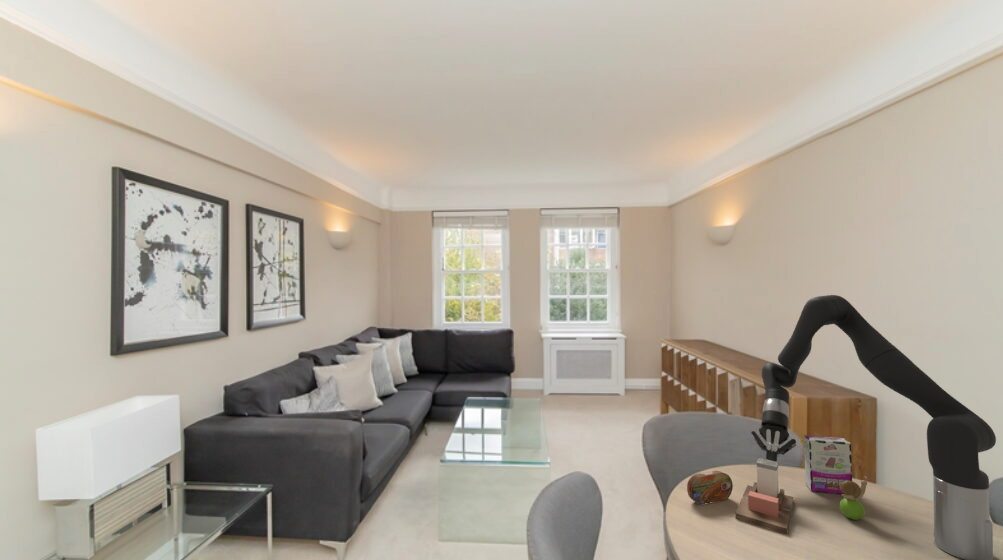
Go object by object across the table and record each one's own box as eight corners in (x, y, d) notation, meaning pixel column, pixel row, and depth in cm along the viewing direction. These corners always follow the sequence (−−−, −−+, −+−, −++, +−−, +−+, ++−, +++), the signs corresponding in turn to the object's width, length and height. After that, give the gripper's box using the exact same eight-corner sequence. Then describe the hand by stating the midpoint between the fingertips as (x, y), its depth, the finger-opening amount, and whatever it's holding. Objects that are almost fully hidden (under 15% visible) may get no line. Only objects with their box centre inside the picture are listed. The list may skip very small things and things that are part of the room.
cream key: (778, 495, 125) (778, 462, 125) (777, 500, 122) (776, 467, 122) (759, 489, 129) (758, 457, 129) (757, 495, 125) (756, 462, 125)
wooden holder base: (793, 502, 125) (793, 490, 125) (787, 534, 109) (786, 521, 109) (747, 489, 132) (747, 478, 132) (735, 518, 117) (735, 505, 117)
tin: (692, 507, 123) (692, 478, 123) (685, 501, 126) (684, 474, 126) (733, 499, 127) (733, 471, 127) (725, 494, 130) (725, 467, 130)
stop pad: (778, 512, 117) (778, 498, 117) (777, 517, 114) (777, 503, 114) (750, 504, 121) (749, 490, 121) (748, 509, 119) (748, 495, 119)
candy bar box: (845, 488, 132) (844, 437, 132) (853, 496, 127) (852, 443, 127) (804, 484, 135) (803, 434, 135) (810, 491, 130) (809, 439, 130)
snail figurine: (874, 525, 112) (873, 481, 113) (847, 522, 114) (846, 479, 114) (861, 514, 118) (860, 472, 118) (835, 511, 119) (834, 470, 119)
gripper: (751, 405, 143) (745, 452, 134) (798, 413, 135) (795, 464, 126) (754, 417, 148) (748, 463, 138) (799, 425, 139) (797, 474, 130)
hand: (771, 463), depth 132 cm, fingers closed
